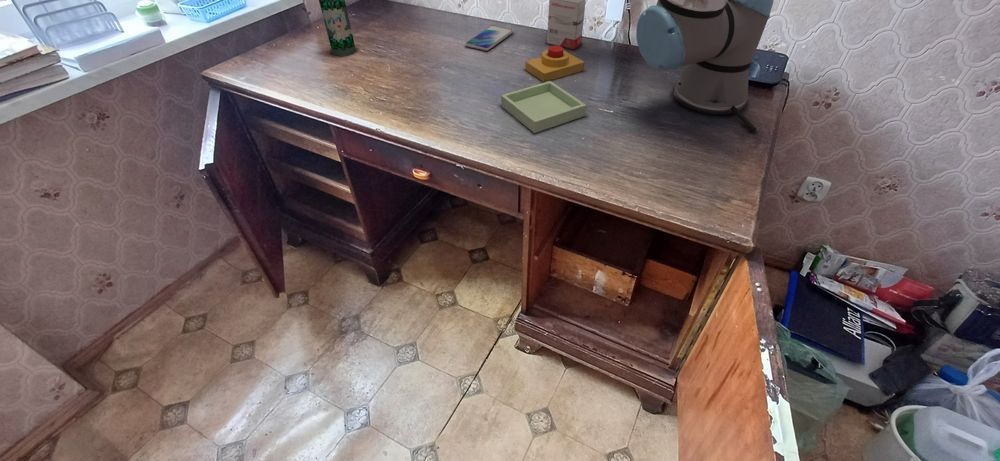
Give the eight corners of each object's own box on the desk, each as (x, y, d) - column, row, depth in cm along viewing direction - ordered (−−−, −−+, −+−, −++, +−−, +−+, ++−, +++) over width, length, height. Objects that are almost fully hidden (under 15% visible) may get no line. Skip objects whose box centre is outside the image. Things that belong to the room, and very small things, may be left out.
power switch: (583, 70, 115) (585, 54, 113) (543, 82, 111) (544, 66, 108) (563, 59, 120) (565, 43, 118) (525, 69, 116) (525, 53, 113)
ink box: (582, 43, 127) (587, -3, 119) (574, 50, 124) (579, 3, 116) (554, 37, 131) (557, -8, 123) (545, 43, 128) (548, -3, 120)
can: (333, 57, 122) (317, -5, 112) (331, 48, 126) (316, -12, 116) (356, 53, 123) (343, -7, 113) (354, 45, 128) (341, -15, 117)
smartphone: (513, 30, 133) (487, 48, 123) (513, 33, 133) (487, 52, 124) (491, 25, 135) (464, 43, 126) (491, 28, 136) (464, 46, 126)
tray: (585, 116, 100) (586, 104, 98) (534, 133, 95) (534, 121, 93) (549, 91, 108) (550, 80, 106) (501, 106, 103) (500, 95, 101)
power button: (565, 56, 113) (566, 49, 111) (553, 60, 111) (554, 52, 110) (556, 51, 115) (557, 44, 114) (544, 54, 114) (545, 47, 112)
